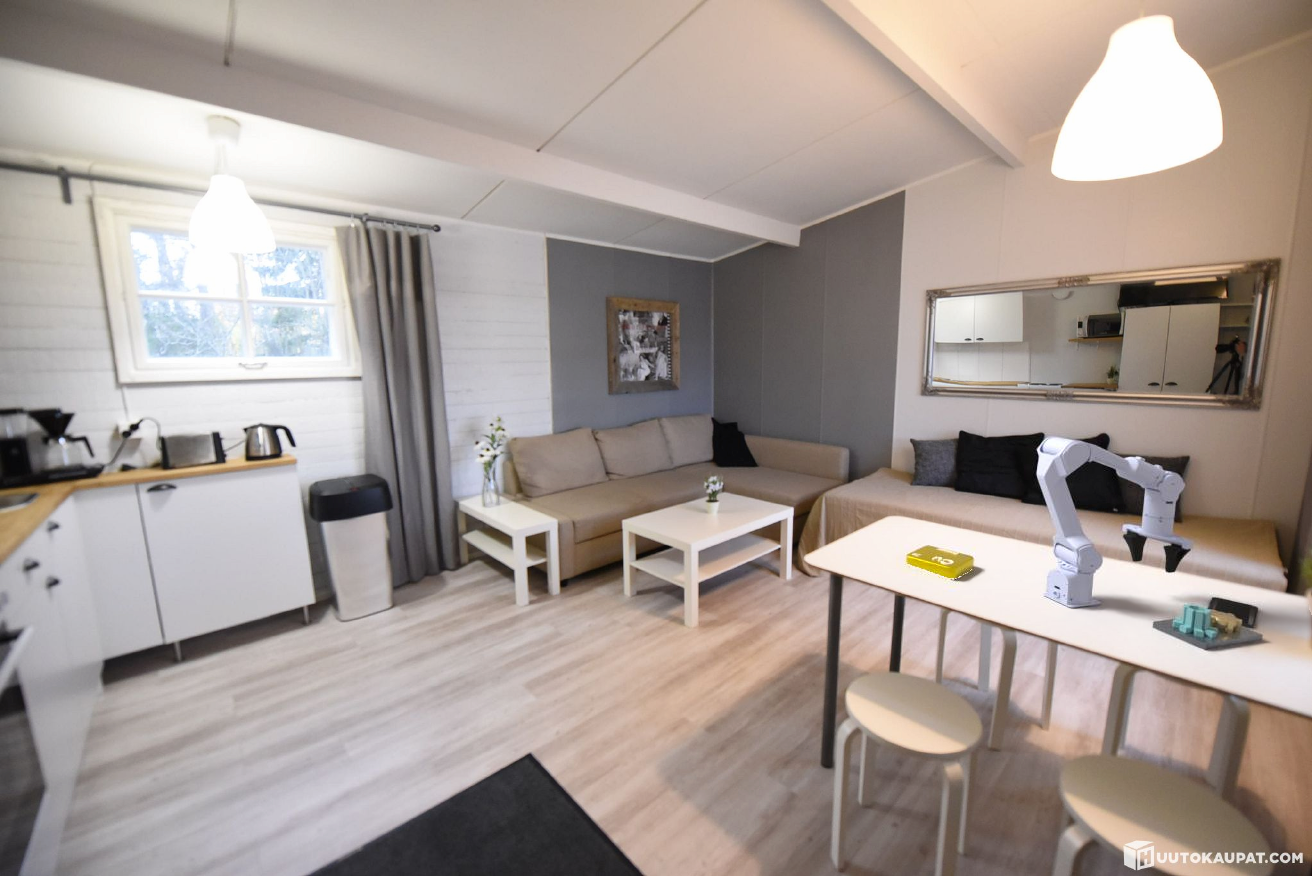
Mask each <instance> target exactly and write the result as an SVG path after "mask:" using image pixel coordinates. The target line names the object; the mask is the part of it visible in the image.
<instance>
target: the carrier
mask: <svg viewBox="0 0 1312 876" xmlns="http://www.w3.org/2000/svg"><path fill="white" fill-rule="evenodd" d="M1209 610H1211V619H1210V624H1211V627H1215V628H1217V629H1218V630H1219V631H1218V635H1216V637H1215V638H1211V637H1208V636H1206V635H1204V636H1203V637H1199V636H1195V634H1194V633H1193V632H1189V633H1185V632H1182V631H1180V630H1179V628H1177V627H1174V626H1173V620H1175V618H1176V617H1173V618H1168V619H1161V620H1154V621H1152V628H1153V629H1156V630H1157V631H1160V632H1163V633H1165V634H1167V635H1170V636H1172V637H1174V638H1176V639H1179V640H1180V641H1183V642H1185V643H1188V644H1190V645H1192V646H1195V647H1197V648H1198V649H1202V650H1204V651H1208V650H1214V649H1221V648H1227V647H1233V646H1239V645H1245V644H1252V643H1258V642H1263V639H1264V638H1263V636H1264V635H1263V634H1261V633H1260V632H1257V631H1254V630H1252V629H1250V628H1245V627H1241V625H1242V620H1241V619H1237V618H1236V617H1235V616H1234V615H1233V614H1230V613H1224V612H1219V611H1216V610H1212V609H1209ZM1180 618H1182V617H1180Z"/></svg>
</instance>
